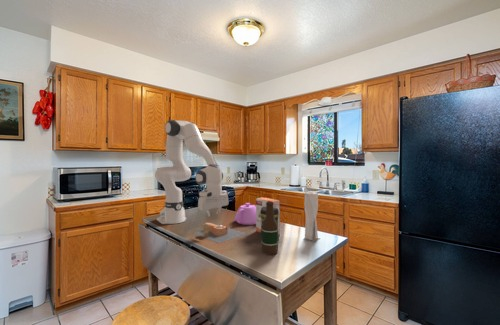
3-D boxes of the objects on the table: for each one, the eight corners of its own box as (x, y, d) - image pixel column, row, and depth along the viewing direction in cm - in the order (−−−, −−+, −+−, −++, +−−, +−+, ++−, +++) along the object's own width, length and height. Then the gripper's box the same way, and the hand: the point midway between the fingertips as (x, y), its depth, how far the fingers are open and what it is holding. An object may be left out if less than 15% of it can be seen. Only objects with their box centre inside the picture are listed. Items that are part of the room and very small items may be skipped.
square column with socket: (227, 233, 139) (227, 227, 139) (219, 236, 135) (219, 229, 134) (210, 228, 150) (210, 221, 150) (202, 230, 146) (202, 223, 145)
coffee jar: (281, 241, 128) (281, 207, 128) (271, 245, 123) (271, 209, 122) (267, 237, 135) (267, 204, 135) (258, 241, 130) (257, 206, 129)
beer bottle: (260, 249, 118) (260, 200, 118) (276, 248, 119) (276, 200, 119) (263, 255, 111) (262, 203, 110) (279, 254, 111) (279, 203, 111)
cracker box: (255, 233, 143) (255, 198, 143) (262, 230, 148) (262, 196, 147) (273, 238, 133) (272, 201, 133) (280, 236, 137) (280, 199, 137)
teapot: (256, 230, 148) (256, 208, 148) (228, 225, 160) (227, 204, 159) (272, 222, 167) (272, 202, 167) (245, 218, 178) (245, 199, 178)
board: (192, 234, 141) (192, 233, 140) (220, 227, 156) (220, 225, 156) (218, 245, 124) (218, 243, 124) (247, 235, 139) (247, 233, 139)
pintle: (217, 235, 139) (217, 225, 139) (220, 234, 140) (220, 224, 140) (219, 236, 137) (219, 226, 137) (222, 235, 139) (222, 225, 139)
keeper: (209, 238, 134) (208, 227, 134) (203, 239, 133) (203, 227, 133) (207, 235, 139) (207, 224, 139) (202, 236, 138) (202, 224, 138)
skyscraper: (300, 239, 133) (300, 188, 132) (307, 235, 139) (307, 187, 138) (315, 242, 127) (315, 190, 127) (321, 238, 134) (321, 188, 133)
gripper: (224, 189, 152) (223, 211, 152) (196, 193, 137) (196, 217, 137) (230, 190, 147) (230, 213, 148) (203, 194, 132) (203, 219, 133)
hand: (213, 215), depth 142 cm, fingers open, 5 cm apart
